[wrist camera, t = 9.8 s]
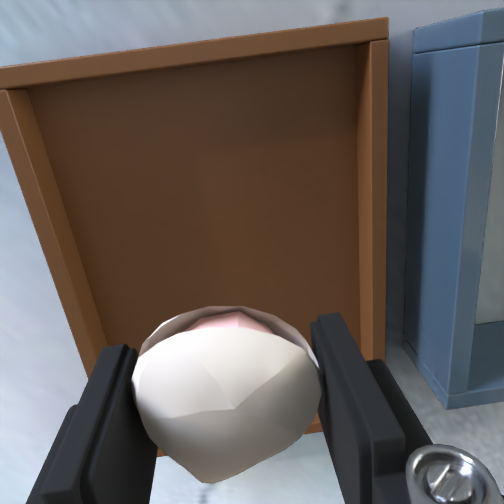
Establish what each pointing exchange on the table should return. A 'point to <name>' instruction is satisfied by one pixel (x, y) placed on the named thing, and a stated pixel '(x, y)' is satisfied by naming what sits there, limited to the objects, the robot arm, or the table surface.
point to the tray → (210, 180)
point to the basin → (453, 206)
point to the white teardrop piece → (225, 389)
